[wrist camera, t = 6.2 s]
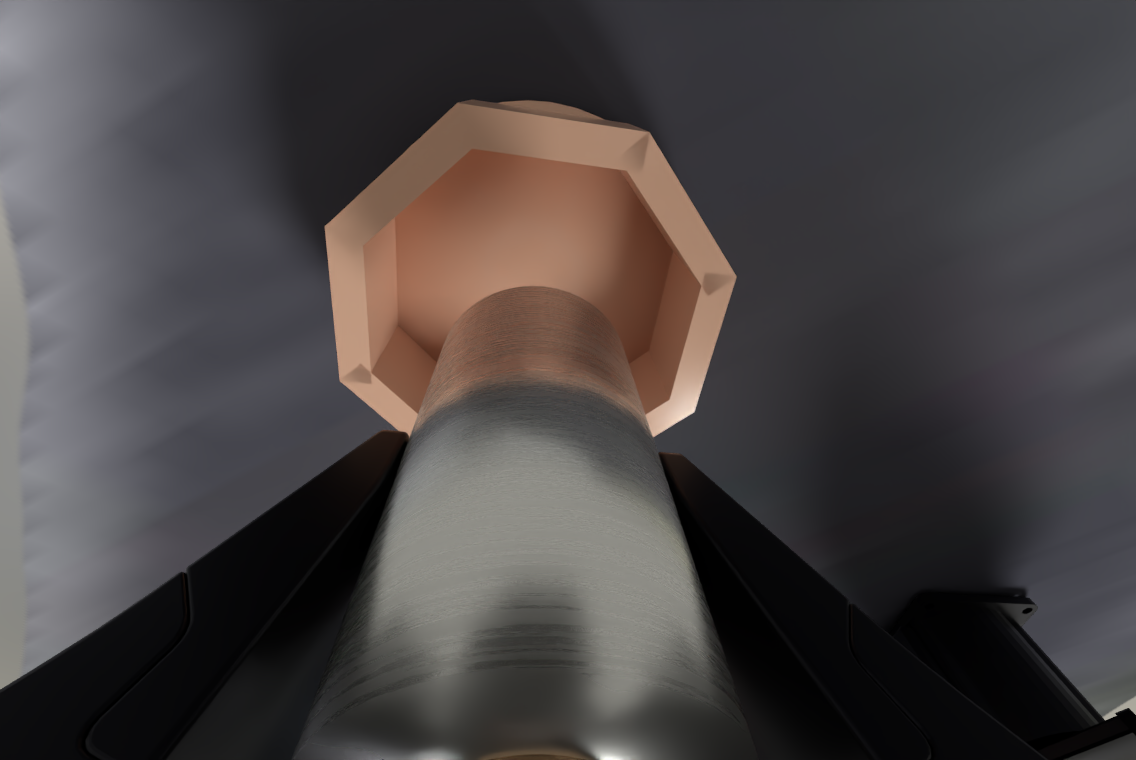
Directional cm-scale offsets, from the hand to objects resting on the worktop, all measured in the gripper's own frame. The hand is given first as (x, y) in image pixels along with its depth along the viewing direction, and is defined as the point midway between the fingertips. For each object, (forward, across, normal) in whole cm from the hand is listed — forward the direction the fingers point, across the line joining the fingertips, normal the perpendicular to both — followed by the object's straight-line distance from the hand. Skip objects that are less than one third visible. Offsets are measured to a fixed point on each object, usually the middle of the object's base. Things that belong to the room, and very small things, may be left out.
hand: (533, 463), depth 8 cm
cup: (+9, 0, 0) cm, 9 cm away
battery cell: (+3, 0, 0) cm, 3 cm away
